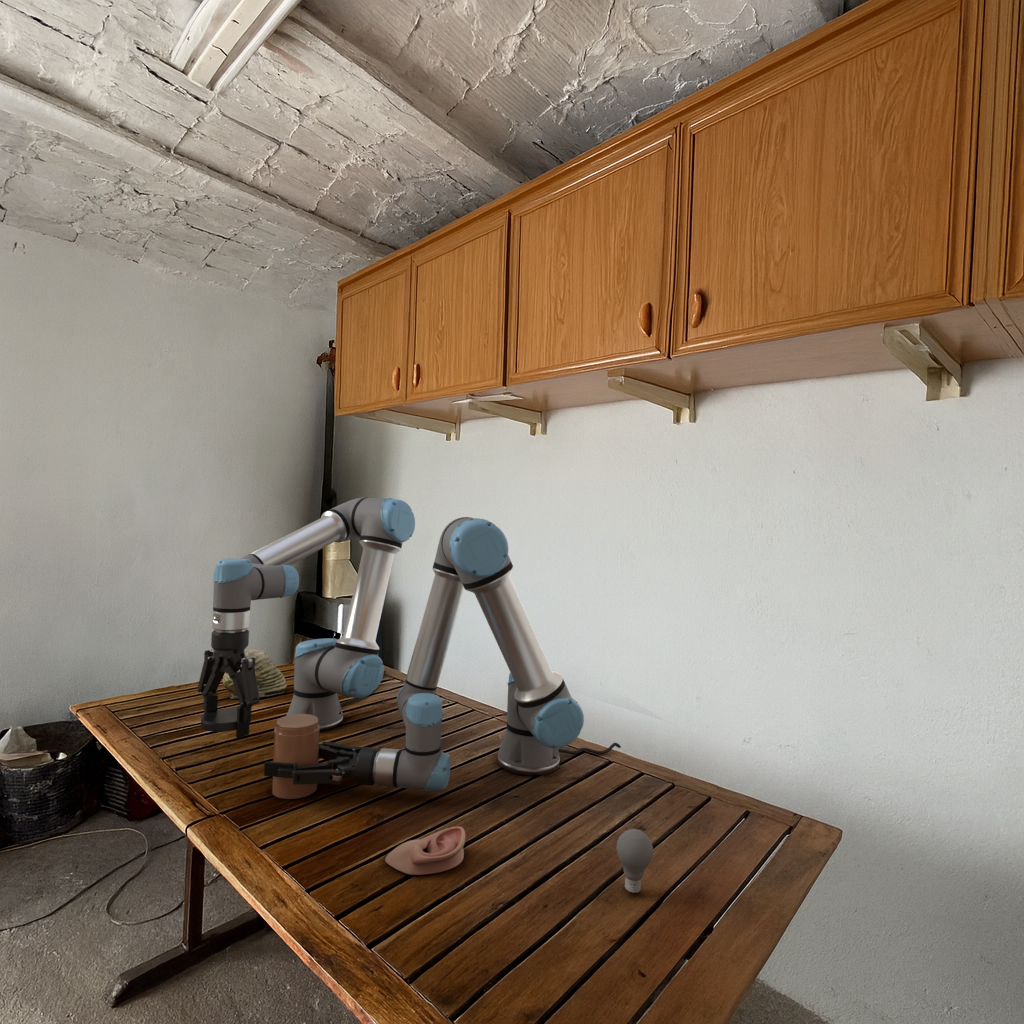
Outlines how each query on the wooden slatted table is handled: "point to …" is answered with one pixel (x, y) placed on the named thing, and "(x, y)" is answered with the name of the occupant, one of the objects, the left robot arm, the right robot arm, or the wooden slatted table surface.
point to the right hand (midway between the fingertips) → (276, 758)
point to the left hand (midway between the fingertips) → (226, 730)
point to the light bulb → (634, 857)
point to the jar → (295, 752)
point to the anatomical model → (429, 853)
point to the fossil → (260, 675)
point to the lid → (220, 720)
